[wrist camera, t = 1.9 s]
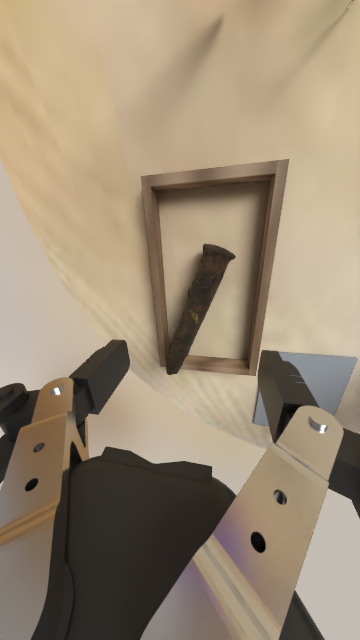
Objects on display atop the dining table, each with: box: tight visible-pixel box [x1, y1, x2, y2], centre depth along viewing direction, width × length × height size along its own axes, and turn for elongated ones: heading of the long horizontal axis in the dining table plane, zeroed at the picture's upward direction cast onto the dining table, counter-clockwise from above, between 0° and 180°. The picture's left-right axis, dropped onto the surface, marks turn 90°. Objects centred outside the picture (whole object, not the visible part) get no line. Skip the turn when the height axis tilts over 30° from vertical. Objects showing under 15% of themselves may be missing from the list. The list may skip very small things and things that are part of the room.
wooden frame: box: [141, 159, 289, 376], centre depth 26 cm, size 15×26×2 cm, turn 2°
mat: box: [254, 352, 357, 426], centre depth 31 cm, size 12×16×1 cm
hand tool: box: [166, 244, 236, 375], centre depth 25 cm, size 19×4×5 cm, turn 159°
